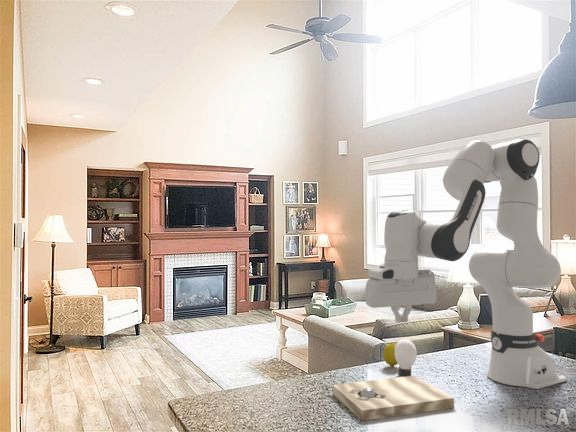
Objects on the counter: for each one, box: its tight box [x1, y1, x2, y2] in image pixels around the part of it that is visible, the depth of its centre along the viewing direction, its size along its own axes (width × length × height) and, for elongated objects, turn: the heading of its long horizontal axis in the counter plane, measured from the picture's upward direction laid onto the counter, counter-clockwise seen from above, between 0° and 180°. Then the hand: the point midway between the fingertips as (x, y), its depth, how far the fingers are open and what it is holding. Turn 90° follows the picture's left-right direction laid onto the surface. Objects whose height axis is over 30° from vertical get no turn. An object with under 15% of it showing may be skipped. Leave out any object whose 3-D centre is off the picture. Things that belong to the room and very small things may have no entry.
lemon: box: [383, 341, 399, 368], centre depth 152 cm, size 6×6×8 cm
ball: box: [360, 388, 376, 398], centre depth 122 cm, size 4×4×4 cm
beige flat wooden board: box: [332, 375, 455, 422], centre depth 124 cm, size 26×18×2 cm
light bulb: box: [394, 338, 418, 377], centre depth 145 cm, size 7×7×11 cm
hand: (401, 322), depth 125 cm, fingers closed
